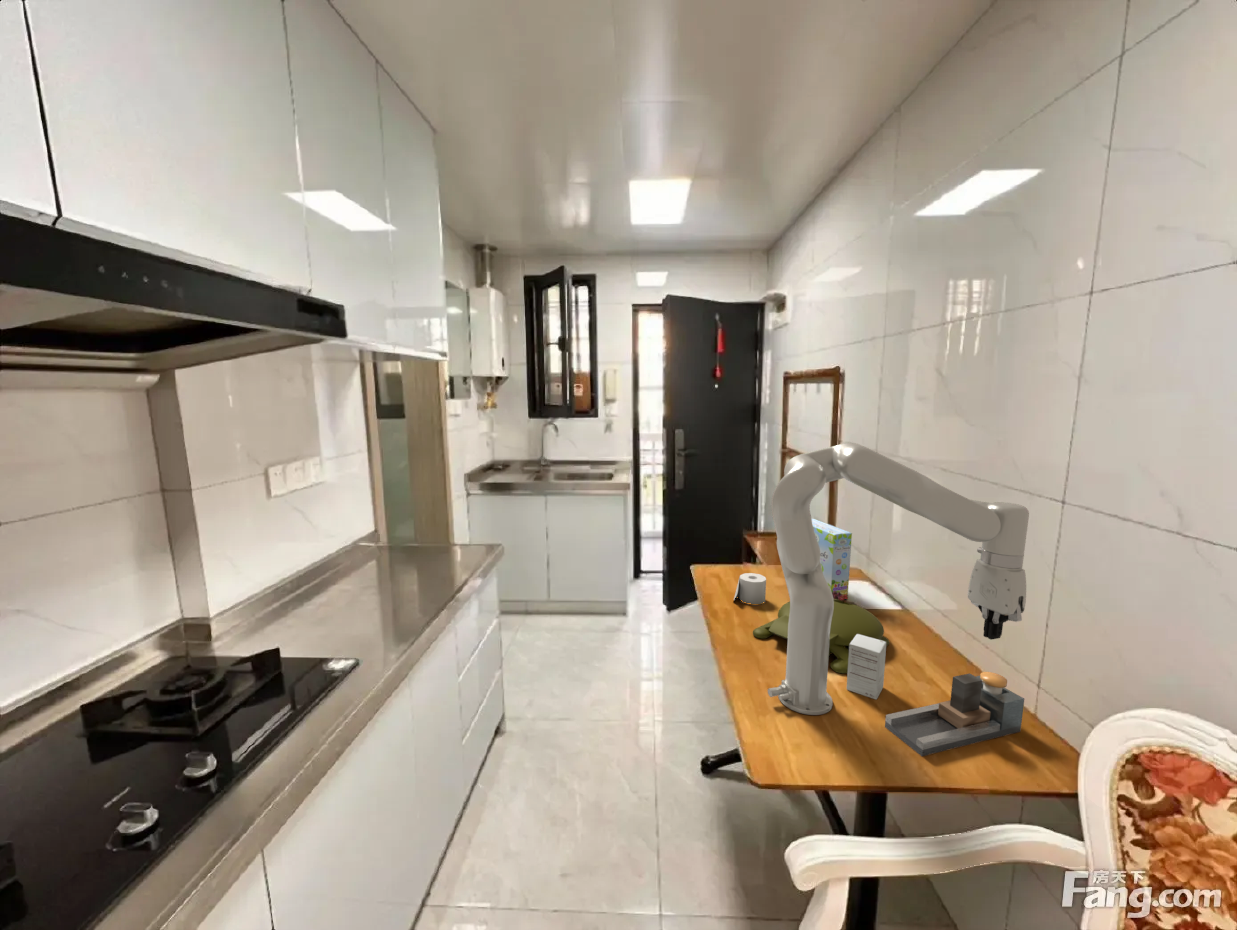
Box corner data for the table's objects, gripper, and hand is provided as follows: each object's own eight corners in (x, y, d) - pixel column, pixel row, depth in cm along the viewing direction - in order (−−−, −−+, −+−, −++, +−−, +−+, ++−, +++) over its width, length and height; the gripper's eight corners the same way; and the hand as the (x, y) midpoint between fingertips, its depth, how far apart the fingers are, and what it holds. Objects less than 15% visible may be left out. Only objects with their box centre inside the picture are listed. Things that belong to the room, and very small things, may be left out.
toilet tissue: (727, 602, 187) (728, 579, 186) (748, 593, 196) (749, 571, 195) (749, 610, 181) (750, 587, 179) (770, 600, 189) (771, 577, 188)
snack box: (792, 582, 207) (795, 519, 204) (810, 580, 210) (814, 517, 206) (829, 603, 187) (833, 533, 183) (849, 600, 189) (854, 532, 186)
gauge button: (992, 718, 117) (996, 685, 116) (971, 705, 122) (975, 673, 121) (1008, 714, 118) (1012, 681, 117) (987, 701, 123) (991, 670, 122)
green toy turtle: (844, 678, 139) (846, 644, 137) (748, 636, 162) (750, 606, 161) (900, 639, 161) (903, 609, 159) (809, 607, 184) (811, 581, 183)
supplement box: (853, 677, 139) (856, 632, 137) (884, 687, 134) (887, 641, 132) (845, 689, 133) (848, 643, 131) (876, 700, 128) (880, 652, 126)
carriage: (961, 731, 114) (966, 688, 113) (937, 714, 120) (941, 674, 118) (989, 724, 116) (993, 682, 115) (964, 708, 122) (968, 669, 121)
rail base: (921, 756, 109) (925, 721, 107) (884, 727, 118) (887, 694, 117) (1020, 731, 117) (1024, 698, 115) (978, 706, 126) (981, 675, 125)
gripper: (957, 550, 120) (949, 625, 123) (1024, 571, 106) (1013, 656, 109) (981, 547, 123) (973, 621, 125) (1050, 568, 109) (1038, 651, 111)
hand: (991, 637), depth 117 cm, fingers closed
